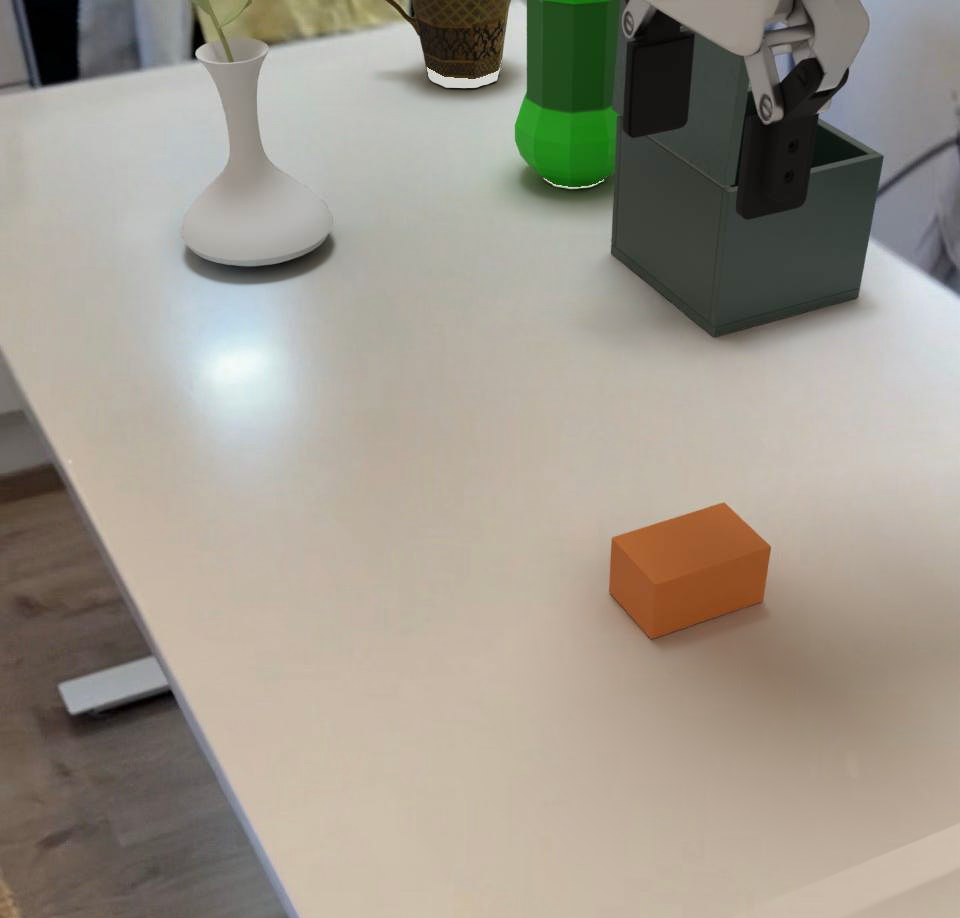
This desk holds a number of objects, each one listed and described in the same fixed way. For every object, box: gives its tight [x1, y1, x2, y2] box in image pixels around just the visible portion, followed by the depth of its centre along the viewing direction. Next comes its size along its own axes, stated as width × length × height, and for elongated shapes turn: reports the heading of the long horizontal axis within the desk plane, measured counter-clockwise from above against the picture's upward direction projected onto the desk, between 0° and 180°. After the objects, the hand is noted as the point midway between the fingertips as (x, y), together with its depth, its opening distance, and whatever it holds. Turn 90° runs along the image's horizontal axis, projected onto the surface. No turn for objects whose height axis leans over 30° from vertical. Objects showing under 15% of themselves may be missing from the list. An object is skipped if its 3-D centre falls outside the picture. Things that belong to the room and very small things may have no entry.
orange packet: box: [608, 502, 772, 640], centre depth 74 cm, size 7×5×4 cm, turn 116°
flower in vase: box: [180, 0, 334, 267], centre depth 97 cm, size 13×11×25 cm
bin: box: [610, 86, 885, 338], centre depth 97 cm, size 12×14×10 cm
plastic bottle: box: [514, 0, 620, 187], centre depth 104 cm, size 10×10×25 cm
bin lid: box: [612, 0, 750, 186], centre depth 87 cm, size 13×14×5 cm
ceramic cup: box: [384, 0, 512, 79], centre depth 125 cm, size 13×10×10 cm
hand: (709, 169), depth 62 cm, fingers open, 9 cm apart
